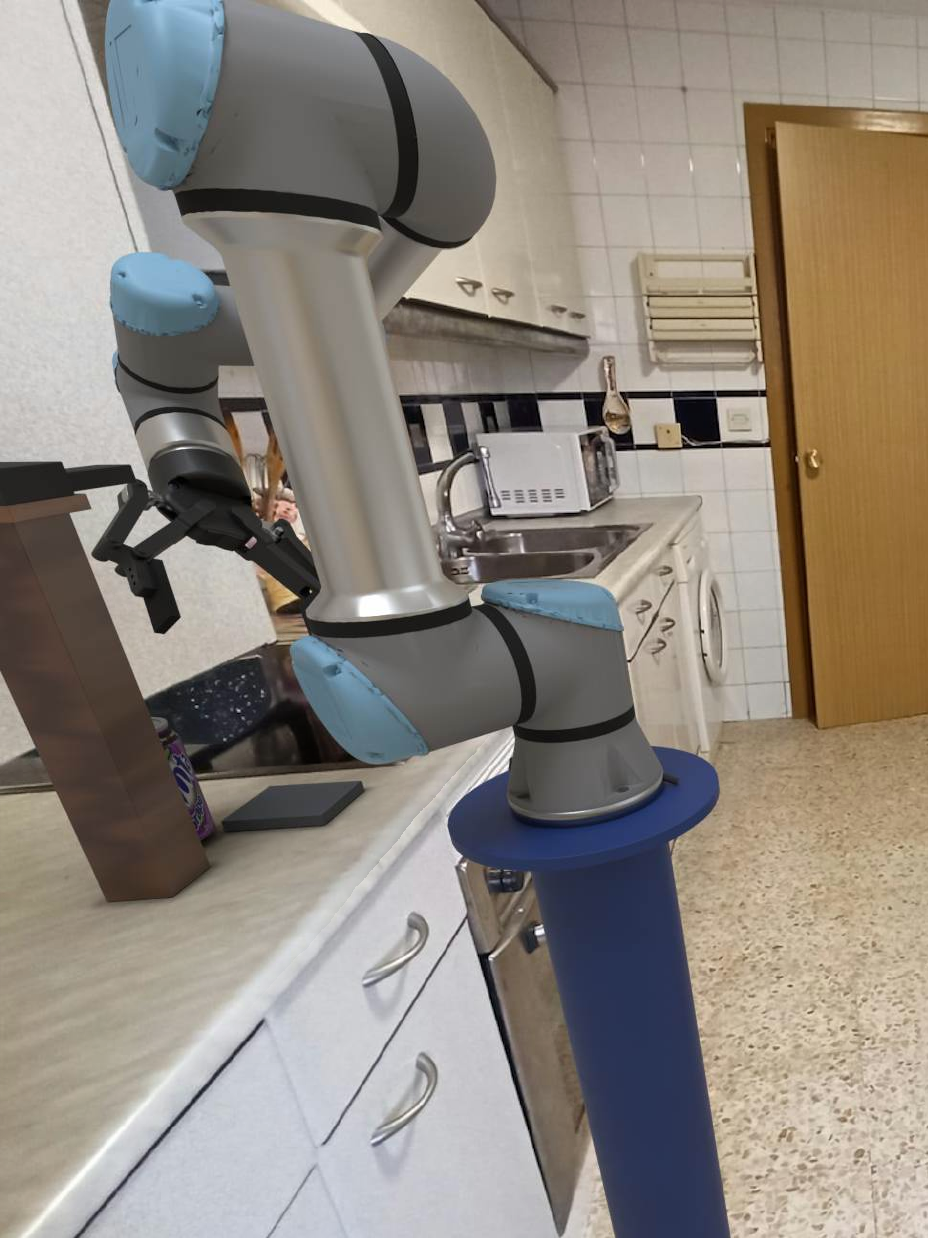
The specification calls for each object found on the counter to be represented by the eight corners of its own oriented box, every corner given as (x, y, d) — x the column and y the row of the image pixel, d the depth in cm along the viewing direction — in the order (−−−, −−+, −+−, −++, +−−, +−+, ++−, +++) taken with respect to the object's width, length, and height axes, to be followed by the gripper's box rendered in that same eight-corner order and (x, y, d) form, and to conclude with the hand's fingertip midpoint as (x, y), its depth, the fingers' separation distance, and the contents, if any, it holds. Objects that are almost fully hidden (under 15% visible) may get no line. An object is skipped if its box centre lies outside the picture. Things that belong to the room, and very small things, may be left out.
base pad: (364, 790, 92) (361, 780, 92) (324, 825, 85) (321, 814, 85) (273, 795, 91) (269, 785, 91) (224, 832, 84) (220, 821, 83)
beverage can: (135, 872, 77) (82, 751, 72) (107, 850, 80) (54, 734, 76) (230, 838, 83) (186, 724, 78) (200, 820, 86) (157, 709, 81)
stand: (227, 858, 79) (86, 493, 67) (174, 900, 73) (7, 505, 60) (155, 863, 78) (-3, 494, 66) (95, 906, 72) (-93, 507, 59)
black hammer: (159, 482, 74) (149, 451, 73) (7, 505, 60) (-9, 468, 59) (81, 482, 73) (69, 452, 72) (-93, 507, 59) (-110, 469, 58)
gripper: (305, 528, 101) (361, 675, 95) (6, 448, 77) (60, 638, 72) (343, 489, 99) (403, 637, 94) (49, 395, 75) (107, 586, 70)
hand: (254, 638), depth 83 cm, fingers open, 13 cm apart
